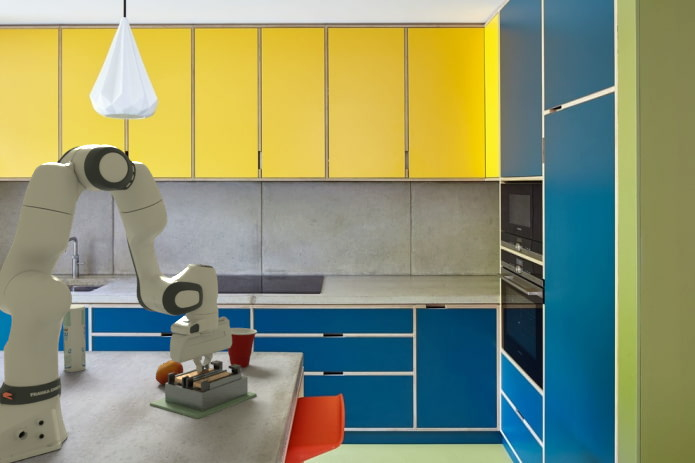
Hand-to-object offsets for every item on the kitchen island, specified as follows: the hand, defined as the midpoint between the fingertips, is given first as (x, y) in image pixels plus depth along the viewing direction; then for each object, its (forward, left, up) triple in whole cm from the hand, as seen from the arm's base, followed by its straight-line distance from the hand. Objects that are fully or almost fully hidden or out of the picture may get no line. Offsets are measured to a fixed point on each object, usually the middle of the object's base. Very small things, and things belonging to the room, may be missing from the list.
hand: (202, 370), depth 179 cm
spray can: (-4, +53, -7) cm, 53 cm away
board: (-2, -3, -7) cm, 8 cm away
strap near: (-3, -7, -1) cm, 8 cm away
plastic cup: (+29, +13, -7) cm, 32 cm away
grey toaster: (-2, -3, -7) cm, 8 cm away
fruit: (+3, +17, -7) cm, 18 cm away
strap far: (-3, 0, -1) cm, 3 cm away
